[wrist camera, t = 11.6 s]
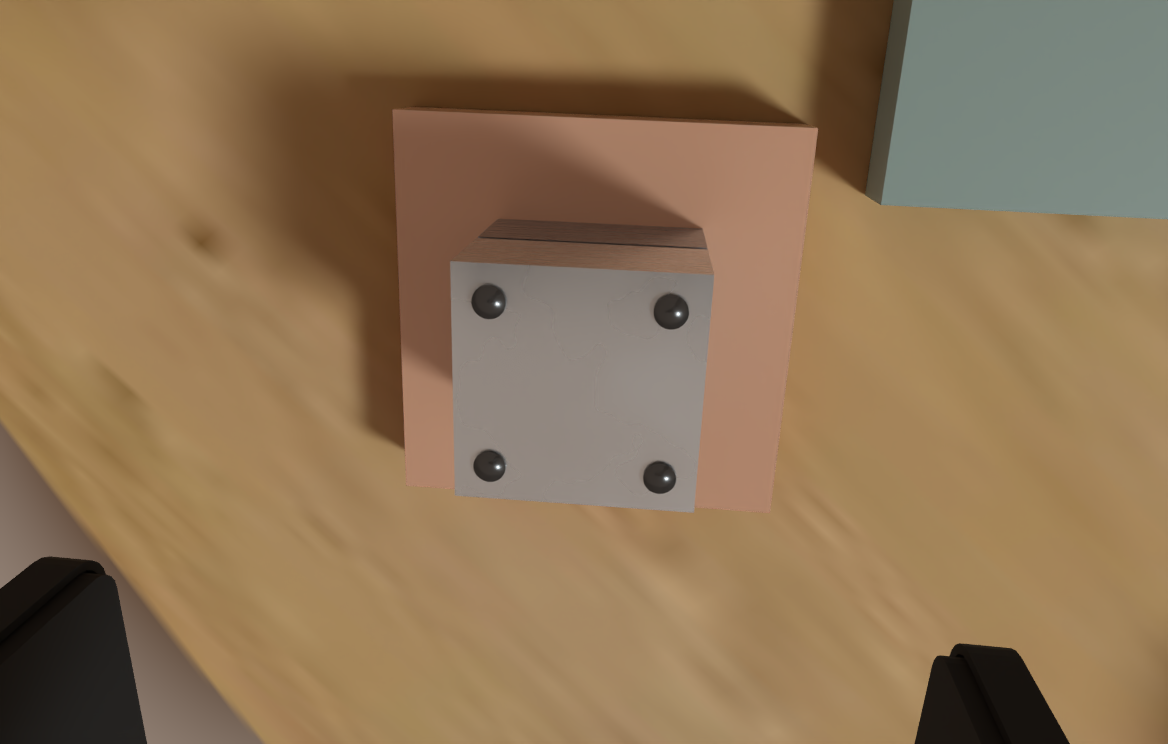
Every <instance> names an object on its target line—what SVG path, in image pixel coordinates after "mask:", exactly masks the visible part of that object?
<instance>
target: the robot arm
mask: <svg viewBox="0 0 1168 744" xmlns="http://www.w3.org/2000/svg"><path fill="white" fill-rule="evenodd" d="M0 744H147V741H146V736H145V731H144V726H143V720H142V715H141V711H140V705H139V699H138V694H137V689H136V684H135V679H134V673H133V668H132V663H131V658H130V653H129V647H128V643H127V637H126V632H125V627H124V622H123V616H122V611H121V606H120V600H119V596H118V590H117V586H116V583H115V580H114V579H113V578H112V577H111V576H108V575H106V574H105V571H104V568H103V567H102V566H101V565H100V564H99V563H98V562H95V561H91V560H81V559H70V558H59V557H44V558H41V559H39V560H37V561H35V562H34V563H32V564H31V565H30V566H29V567H27V568H26V569H25V570H24V571H22V572H21V573H20V574H19V575H17V576H16V577H15V578H13V579H12V580H11V581H10V582H8V583H7V584H6V585H5V586H3V587H2V588H1V589H0ZM915 744H1070V743H1069V742H1068V740H1067V738H1066V736H1065V734H1064V733H1063V731H1062V729H1061V727H1060V725H1059V724H1058V722H1057V720H1056V718H1055V717H1054V715H1053V713H1052V711H1051V709H1050V708H1049V706H1048V704H1047V702H1046V701H1045V699H1044V697H1043V695H1042V693H1041V692H1040V690H1039V688H1038V686H1037V685H1036V683H1035V681H1034V679H1033V677H1032V676H1031V674H1030V672H1029V670H1028V669H1027V667H1026V665H1025V663H1024V661H1023V660H1022V658H1021V657H1020V655H1019V654H1018V653H1017V651H1015V650H1013V649H1011V648H1002V647H992V646H981V645H971V644H957V645H955V646H954V648H953V649H952V651H951V654H950V656H937V657H936V658H935V660H934V662H933V665H932V669H931V673H930V678H929V682H928V687H927V691H926V695H925V700H924V704H923V709H922V713H921V718H920V722H919V727H918V731H917V735H916V740H915Z"/></svg>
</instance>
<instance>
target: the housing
mask: <svg viewBox="0 0 1168 744" xmlns="http://www.w3.org/2000/svg"><path fill="white" fill-rule="evenodd" d="M450 279H451V328H452V377H453V425H454V474H455V495H456V496H470V497H484V498H498V499H512V500H526V501H540V502H554V503H568V504H581V505H595V506H609V507H623V508H637V509H651V510H665V511H679V512H693V513H694V505H695V493H696V481H697V470H698V458H699V447H700V435H701V424H702V412H703V400H704V389H705V377H706V366H707V354H708V342H709V331H710V319H711V308H712V296H713V285H714V272H713V268H712V264H711V260H710V256H709V252H708V249H707V244H706V240H705V236H704V232H703V228H683V227H662V226H641V225H620V224H599V223H578V222H558V221H537V220H516V219H497V220H496V221H495V222H494V223H493V224H492V225H490V226H489V227H488V228H487V229H486V230H485V231H484V232H483V233H481V234H480V235H479V236H478V238H476V239H475V240H473V241H472V242H471V243H470V244H469V245H468V246H467V247H466V248H464V249H463V250H462V251H461V252H460V253H459V254H458V255H457V256H455V257H454V258H453V259H452V260H451V261H450Z"/></svg>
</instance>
